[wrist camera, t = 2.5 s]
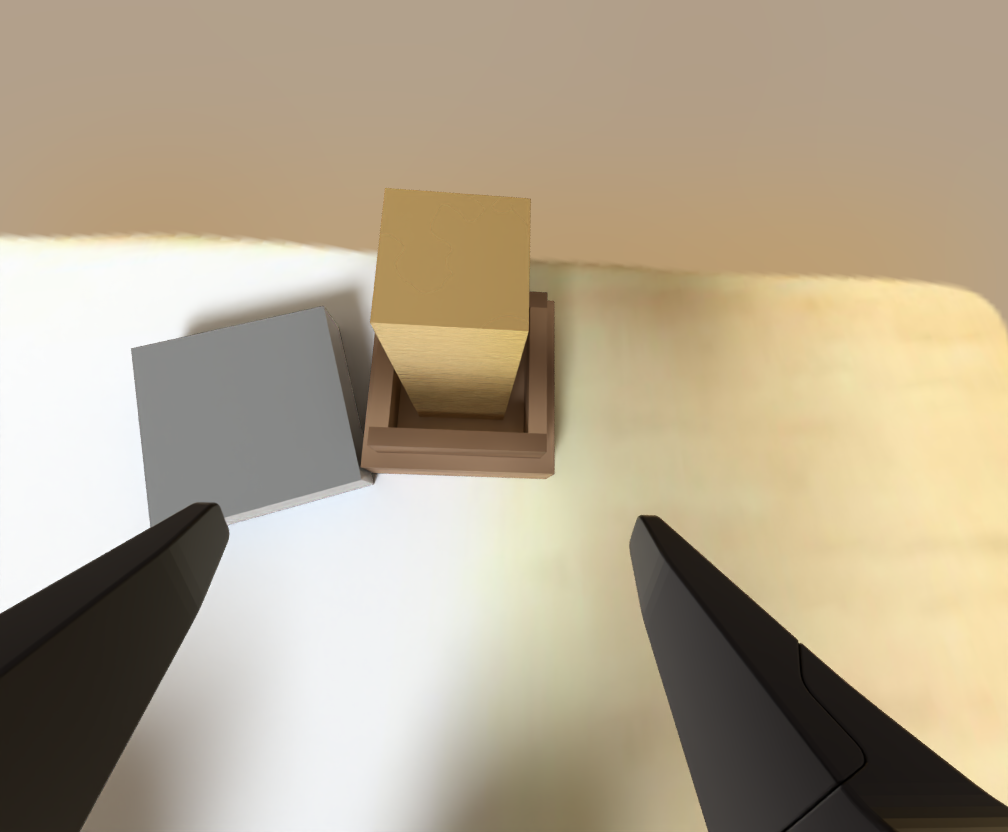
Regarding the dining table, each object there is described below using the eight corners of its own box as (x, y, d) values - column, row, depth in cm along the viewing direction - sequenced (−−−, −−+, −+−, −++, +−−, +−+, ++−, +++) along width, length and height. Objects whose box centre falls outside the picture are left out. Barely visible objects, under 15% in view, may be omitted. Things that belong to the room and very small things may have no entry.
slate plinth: (373, 484, 22) (361, 479, 20) (189, 535, 21) (151, 538, 18) (338, 327, 24) (323, 305, 21) (167, 366, 23) (131, 348, 20)
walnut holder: (545, 478, 23) (563, 468, 18) (373, 472, 22) (348, 461, 18) (546, 322, 25) (562, 280, 20) (388, 313, 24) (370, 268, 20)
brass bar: (503, 420, 21) (528, 331, 11) (419, 416, 20) (370, 322, 11) (505, 343, 22) (530, 198, 12) (425, 338, 21) (384, 188, 12)
